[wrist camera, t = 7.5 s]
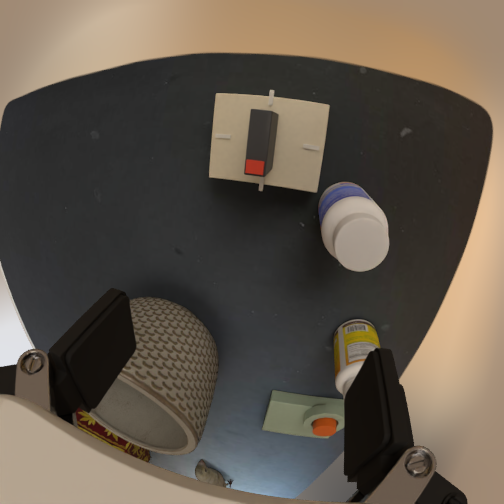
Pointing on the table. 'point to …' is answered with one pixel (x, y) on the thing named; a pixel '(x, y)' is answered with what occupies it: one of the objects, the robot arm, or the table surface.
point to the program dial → (261, 142)
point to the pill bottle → (353, 227)
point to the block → (301, 413)
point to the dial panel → (286, 146)
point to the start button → (324, 426)
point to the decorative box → (109, 436)
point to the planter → (163, 380)
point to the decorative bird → (209, 475)
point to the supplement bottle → (352, 350)
